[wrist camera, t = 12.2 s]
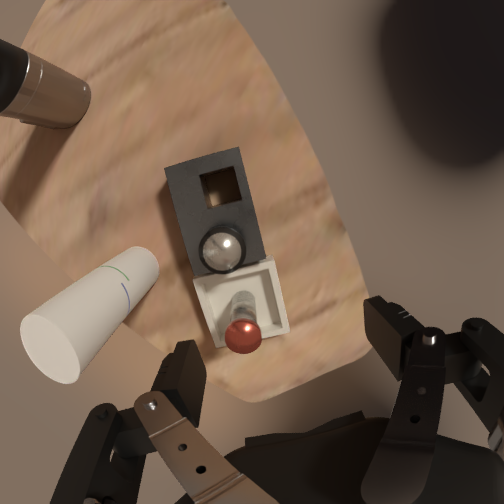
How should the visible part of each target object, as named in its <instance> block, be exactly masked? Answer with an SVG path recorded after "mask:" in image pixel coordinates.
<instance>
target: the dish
mask: <svg viewBox="0 0 504 504" xmlns="http://www.w3.org/2000/svg"><path fill="white" fill-rule="evenodd" d="M192 280H193V283H194V286H195V289H196V292H197V295H198V298H199V301H200V304H201V307H202V310H203V313H204V316H205V318H206V321H207V324H208V327H209V330H210V333H211V335H212V338H213V341H214V343H215V346H216V348H219V347H224V346H227V345H226V343H225V331H226V328H227V326H228V325H229V324H230V315H231V306H232V298H233V296H234V295H235V294H236V293H237V292H239V291H243V290H244V291H249V292H251V293H252V294H253V295H254V297H255V302H256V315H257V324H258V325H259V327H260V329H261V335H262V339H263V338H267V337H272V336H276V335H280V334H284V333H288V332H290V328H289V324H288V319H287V315H286V310H285V306H284V301H283V297H282V292H281V288H280V284H279V279H278V275H277V270H276V266H275V262H274V258H273V256H272V255H269V256H266V259H264V260H259V261H255V262H251V263H247V264H243V265H241V267H240V268H239V269H237V270H236V271H234V272H232V273H229V274H216V273H213V272H210V273H206V274H201V275H197V276H194V278H193V279H192Z"/></svg>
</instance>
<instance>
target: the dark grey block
mask: <svg viewBox="0 0 504 504" xmlns="http://www.w3.org/2000/svg"><path fill="white" fill-rule="evenodd" d="M233 168H234V169H235V173H236V177H237V181H238V185H239V189H240V193H241V197H242V199H238V200H234V201H230V202H227V203H223V204H219V205H215V206H212V204H211V200H210V196H209V192H208V188H207V184H206V181H205V177H204V176H206V175H210V174H214V173H217V172H221V171H225V170H229V169H233ZM164 170H165V174H166V178H167V182H168V186H169V189H170V193H171V197H172V201H173V205H174V208H175V212H176V216H177V219H178V223H179V226H180V230H181V233H182V237H183V240H184V244H185V247H186V250H187V254H188V257H189V260H190V263H191V267H192V270H193V273H194V276H197V275H201V274H206V273H210V272H213V273H216V274H229V273H232V272H234V271H236V270H237V269H239V268H240V267H241V265H243V264H247V263H251V262H255V261H259V260H264V259H266V254H265V250H264V246H263V242H262V238H261V234H260V230H259V226H258V222H257V218H256V214H255V210H254V205H253V201H252V197H251V193H250V189H249V185H248V181H247V177H246V174H245V170H244V166H243V162H242V158H241V154H240V150H239V147H236V148H232V149H228V150H224V151H220V152H217V153H213V154H209V155H206V156H202V157H199V158H195V159H192V160H189V161H185V162H182V163H179V164H176V165H172V166H169V167H166V168H164Z"/></svg>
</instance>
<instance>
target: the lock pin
mask: <svg viewBox="0 0 504 504" xmlns="http://www.w3.org/2000/svg"><path fill="white" fill-rule="evenodd" d="M261 341H262V335H261V329H260V327H259V325H258V324H257V315H256V302H255V297H254V295H253V294H252V293H251V292H249V291H244V290H243V291H239V292H237V293H236V294H235V295H234V296H233V298H232V306H231V315H230V324H229V325H228V326H227V328H226V331H225V343H226V345H227V346H228V348H229V349H230V350H232V351H234V352H236V353H240V354H247V353H251V352H253V351H255V350H256V349H257V348H258V347H259V346H260V344H261Z"/></svg>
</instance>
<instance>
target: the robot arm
mask: <svg viewBox="0 0 504 504" xmlns="http://www.w3.org/2000/svg"><path fill="white" fill-rule="evenodd" d="M90 98H91V92H90V88H89V86H88V84H87V83H86V82H85V81H83V80H81V79H79V78H77V77H76V76H74V75H72V74H70V73H68V72H67V71H65V70H63V69H61V68H59V67H57V66H55V65H53V64H51V63H49V62H48V61H46V60H44V59H42V58H40V57H38V56H35V55H33V54H31V53H29V52H27V51H25V50H23V49H21V48H18V47H16V46H14V45H12V44H10V43H8V42H6V41H3V40H1V39H0V116H4V117H10V118H15V119H20V122H21V123H26V124H31V125H36V126H41V127H46V128H51V129H55V128H56V127H58V128H69V127H71V126H73V125H75V124H76V123H77V122H78V121H79V120H80V119H81V118H82V117H83V115H84V114H85V112H86V110H87V108H88V106H89V103H90ZM363 306H364V323H365V333H366V336H367V339H368V340H369V342H370V343H371V345H372V346H373V347H374V348H375V350H376V351H377V353H378V354H379V355H380V357H381V358H382V360H383V361H384V363H385V364H386V365H387V367H388V368H389V370H390V371H391V372H392V374H393V375H394V377H395V378H396V380H397V381H400V380H401V384H400V388H399V391H398V394H397V398H396V401H395V404H394V407H393V411H392V413H391V416H390V418H385V417H367V418H365V417H364V415H363V412H362V411H359V412H356V413H352V414H350V415H346V416H343V417H340V418H336V419H333V420H331V421H329V422H327V423H325V424H323V425H321V426H319V427H317V428H315V429H313V430H310V431H308V432H305V433H273V434H267V435H261V436H255V437H248V438H245V446H243V447H241V448H238V449H236V450H234V451H232V452H230V453H229V454H227V455H226V456H224V457H223V456H222V455H220V453H219V452H218V451H217V450H216V449H215V448H214V447H213V446H212V445H211V444H210V443H209V442H208V441H207V440H206V439H205V438H204V437H203V436H202V435H201V434H200V433H199V431H198V430H197V429H196V428H198V426H199V420H200V413H201V407H202V401H203V395H204V389H205V384H206V377H207V374H206V368H205V365H204V362H203V360H202V358H201V355H200V353H199V350H198V347H197V345H196V343H195V341H194V340H186V341H180V342H177V345H176V347H175V350H174V352H173V353H169V354H168V355H167V356H166V357H165V358H164V360H163V361H162V364H161V366H160V369H159V371H158V374H157V376H156V378H155V381H154V383H153V386H152V388H151V391H150V392H147V393H144V394H143V395H141V396H140V397H138V399H137V400H136V401H135V403H134V407H133V408H129V409H125V410H121V411H118V410H117V408H116V407H115V406H114V405H113V404H110V403H103V404H100V405H98V406H96V407H95V408H93V409H92V410H91V411H90V413H89V415H88V417H87V419H86V421H85V423H84V425H83V427H82V429H81V431H80V434H79V436H78V438H77V440H76V442H75V445H74V446H73V449H72V451H71V453H70V455H69V458H68V460H67V462H66V464H65V467H64V469H63V472H62V474H61V477H60V479H59V481H58V484H57V486H56V489H55V491H54V494H53V496H52V499H51V501H50V504H136V503H137V498H138V493H139V488H140V483H141V478H142V473H143V468H144V464H145V459H146V454H148V453H152V452H156V451H158V452H159V454H160V456H161V457H162V458H163V460H164V462H165V463H166V465H167V466H168V468H169V469H170V471H171V472H172V473H173V475H174V476H175V477H176V479H177V480H178V482H179V483H180V484H181V485H182V487H183V488H184V490H185V491H186V492H187V493H186V494H185V495H184V496H183V497H181V498H180V499H179V500H178V501H177V502H176V503H175V504H504V334H503V333H501V332H500V331H499V330H498V329H497V328H495V327H494V326H493V325H492V324H490V323H489V322H488V321H486V320H485V319H482V318H470V319H467V320H466V321H464V322H463V324H462V328H461V332H456V333H451V334H445V333H444V331H443V330H441V329H439V328H437V327H424V326H423V325H422V324H421V323H420V322H419V321H417V320H416V319H415V318H414V317H413V316H412V315H410V314H409V313H408V312H407V311H406V310H405V309H404V308H403V307H402V306H400V305H398V304H395V303H393V302H390V303H387V302H386V301H385V300H384V299H383V298H382V297H381V296H379V295H378V296H375V297H372V298H368V299H365V300H364V303H363ZM482 363H483V364H484V365H485V366H486V367H487V369H488V370H489V372H490V376H489V375H488V373H486V371H485V370H484V369H483V368H482V367H481V366H482ZM450 383H454V385H455V386H456V387H457V388H458V390H459V391H460V392H461V394H462V395H463V396H464V398H465V399H466V400H467V401H468V403H469V404H470V406H471V407H472V408H473V410H474V411H475V413H476V414H477V415H478V417H479V418H480V420H481V421H482V422H483V424H484V425H485V427H486V428H487V430H488V431H489V432H490V433H489V436H488V445H489V447H490V449H488V448H485V447H481V446H477V445H473V444H469V443H465V442H462V441H458V440H455V439H451V438H448V437H445V436H441V435H438V434H437V431H438V426H439V421H440V415H441V408H442V402H443V394H444V385H445V384H450ZM112 449H113V450H114V453H113V456H112V459H111V462H110V455H111V451H112Z"/></svg>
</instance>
